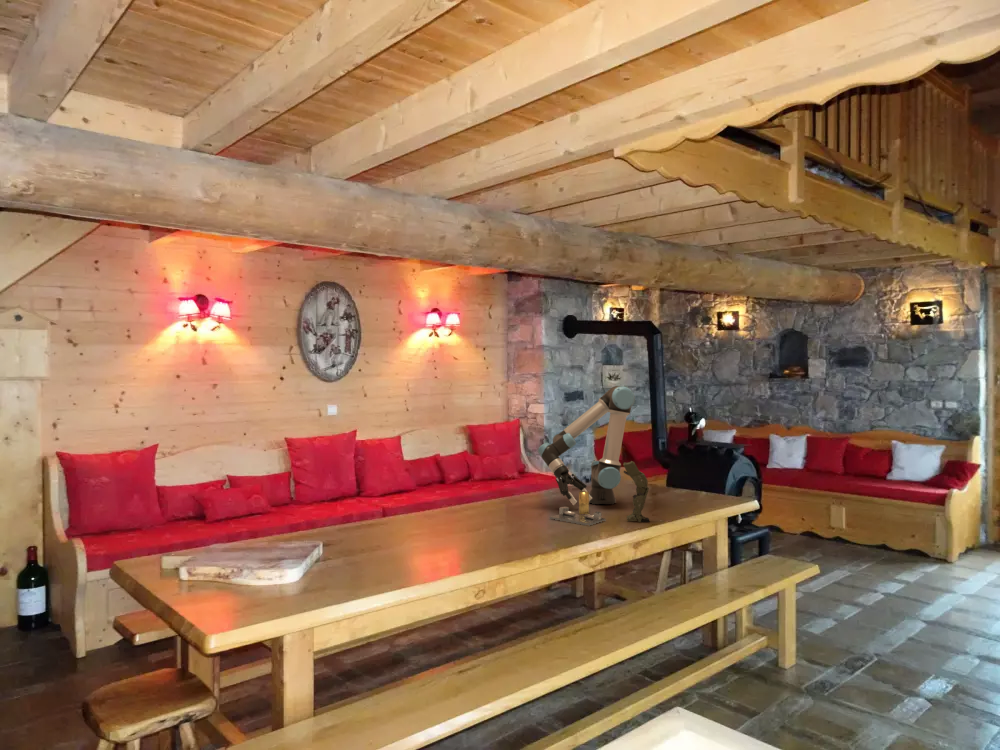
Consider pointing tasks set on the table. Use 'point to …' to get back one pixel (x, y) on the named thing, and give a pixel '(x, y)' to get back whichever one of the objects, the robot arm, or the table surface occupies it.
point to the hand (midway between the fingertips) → (582, 501)
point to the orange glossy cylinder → (583, 502)
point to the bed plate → (578, 517)
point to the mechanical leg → (641, 492)
